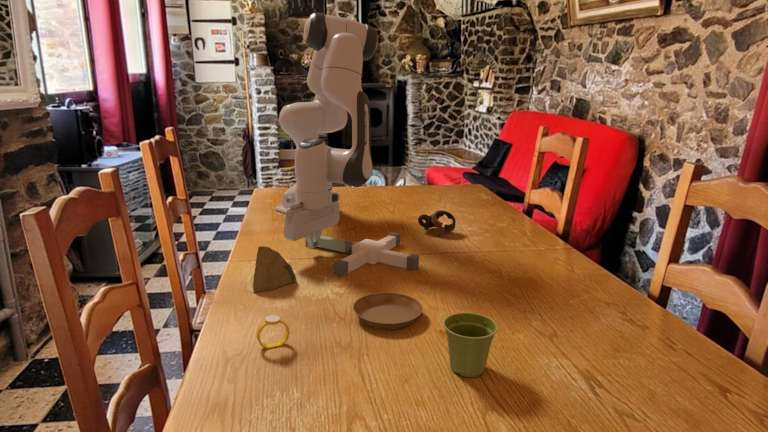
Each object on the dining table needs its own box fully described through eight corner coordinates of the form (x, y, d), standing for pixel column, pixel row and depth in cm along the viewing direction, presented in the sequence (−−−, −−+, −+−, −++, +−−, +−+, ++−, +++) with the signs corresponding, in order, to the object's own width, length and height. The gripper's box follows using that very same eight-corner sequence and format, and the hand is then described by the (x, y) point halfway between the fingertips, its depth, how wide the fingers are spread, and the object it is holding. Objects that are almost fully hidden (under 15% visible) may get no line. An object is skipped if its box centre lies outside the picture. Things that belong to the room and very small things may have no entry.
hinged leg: (354, 251, 148) (354, 241, 147) (350, 254, 146) (350, 243, 145) (315, 243, 154) (315, 233, 153) (310, 245, 152) (310, 235, 151)
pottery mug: (448, 228, 173) (457, 211, 167) (449, 249, 166) (458, 231, 160) (414, 220, 171) (422, 202, 165) (413, 240, 164) (422, 222, 158)
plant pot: (436, 354, 96) (438, 312, 94) (485, 353, 97) (489, 311, 95) (446, 384, 87) (448, 338, 85) (500, 382, 88) (505, 337, 86)
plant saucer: (370, 297, 120) (370, 287, 119) (431, 309, 115) (431, 299, 114) (340, 325, 107) (340, 314, 106) (407, 341, 101) (408, 329, 101)
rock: (299, 266, 131) (259, 261, 130) (300, 248, 124) (258, 242, 123) (293, 304, 125) (251, 300, 124) (293, 287, 118) (249, 282, 117)
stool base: (321, 270, 135) (321, 256, 133) (380, 240, 158) (380, 227, 157) (387, 288, 125) (387, 272, 124) (439, 252, 148) (440, 239, 147)
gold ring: (286, 341, 101) (287, 313, 99) (290, 347, 99) (291, 319, 97) (255, 345, 98) (255, 316, 97) (258, 352, 96) (259, 323, 95)
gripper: (295, 209, 131) (297, 260, 135) (343, 193, 148) (343, 239, 152) (277, 205, 134) (279, 255, 138) (325, 190, 151) (326, 235, 155)
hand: (313, 247), depth 145 cm, fingers closed
